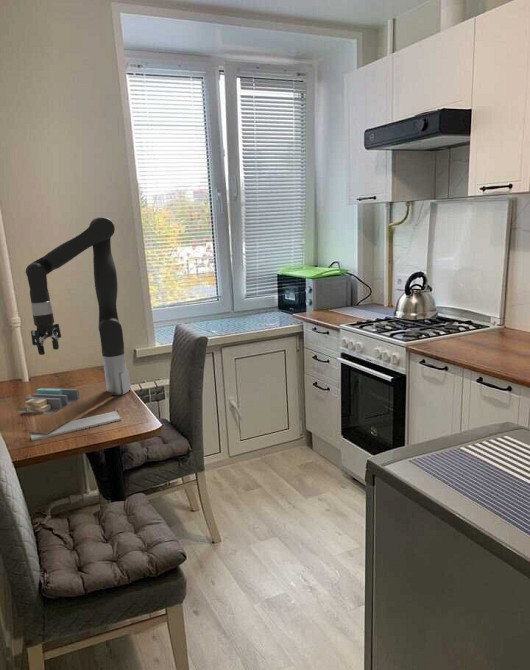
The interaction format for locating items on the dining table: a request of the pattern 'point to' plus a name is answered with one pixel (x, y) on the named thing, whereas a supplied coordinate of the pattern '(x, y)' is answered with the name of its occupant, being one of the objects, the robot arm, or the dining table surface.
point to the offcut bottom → (42, 409)
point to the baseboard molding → (79, 425)
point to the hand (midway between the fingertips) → (49, 351)
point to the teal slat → (49, 391)
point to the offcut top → (35, 403)
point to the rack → (55, 400)
